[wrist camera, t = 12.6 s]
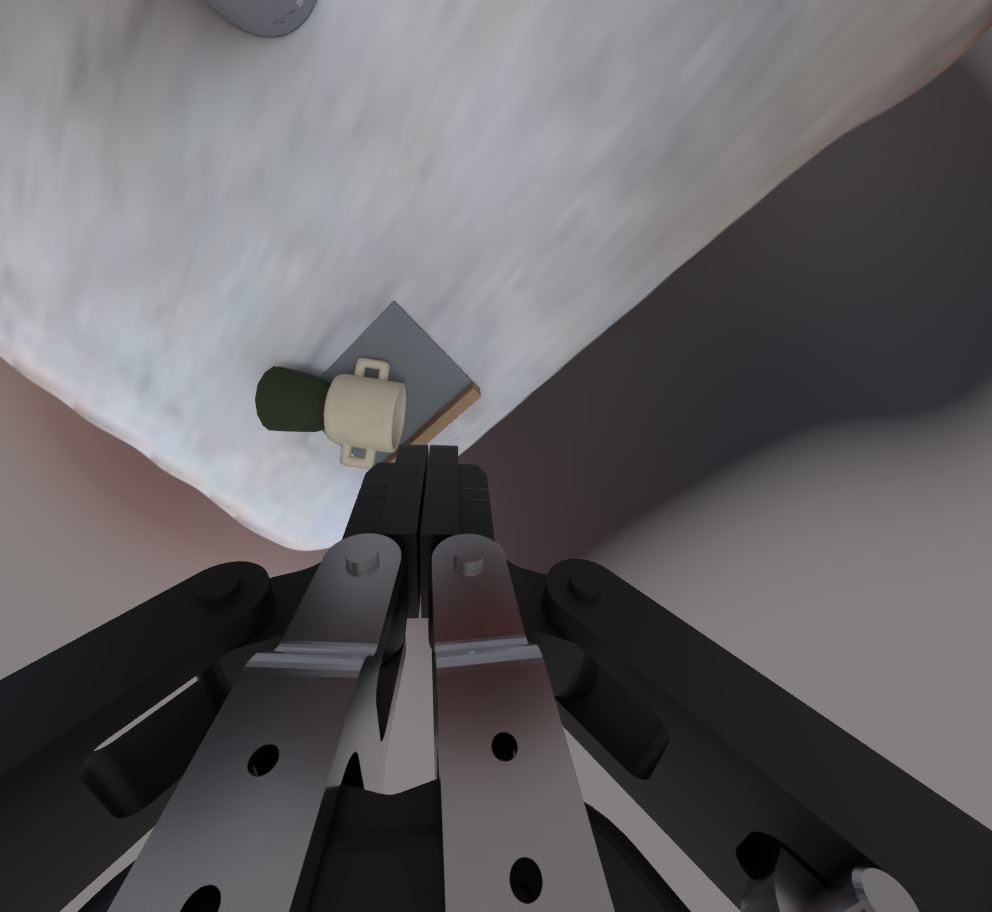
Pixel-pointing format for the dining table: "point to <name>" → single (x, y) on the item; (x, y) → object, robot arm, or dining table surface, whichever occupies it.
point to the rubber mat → (410, 377)
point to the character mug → (337, 408)
